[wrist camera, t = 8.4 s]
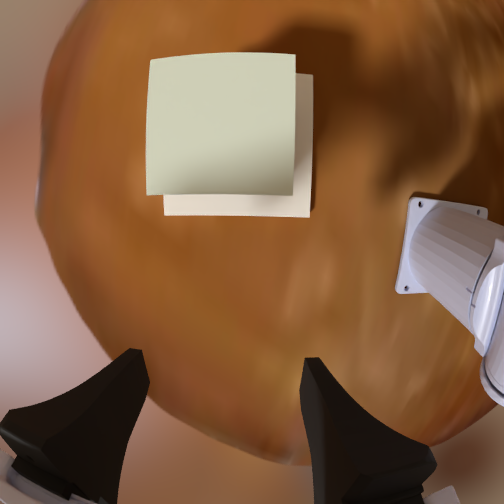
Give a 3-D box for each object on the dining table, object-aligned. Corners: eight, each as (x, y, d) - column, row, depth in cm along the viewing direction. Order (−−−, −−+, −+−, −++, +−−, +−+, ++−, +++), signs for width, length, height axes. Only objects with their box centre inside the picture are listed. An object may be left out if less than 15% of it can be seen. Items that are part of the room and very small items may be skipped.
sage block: (283, 86, 12) (295, 54, 8) (281, 184, 14) (292, 195, 9) (181, 87, 12) (150, 60, 8) (179, 184, 14) (146, 195, 9)
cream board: (310, 77, 17) (312, 74, 16) (307, 215, 20) (309, 217, 19) (168, 79, 17) (165, 76, 16) (167, 213, 20) (164, 215, 19)
